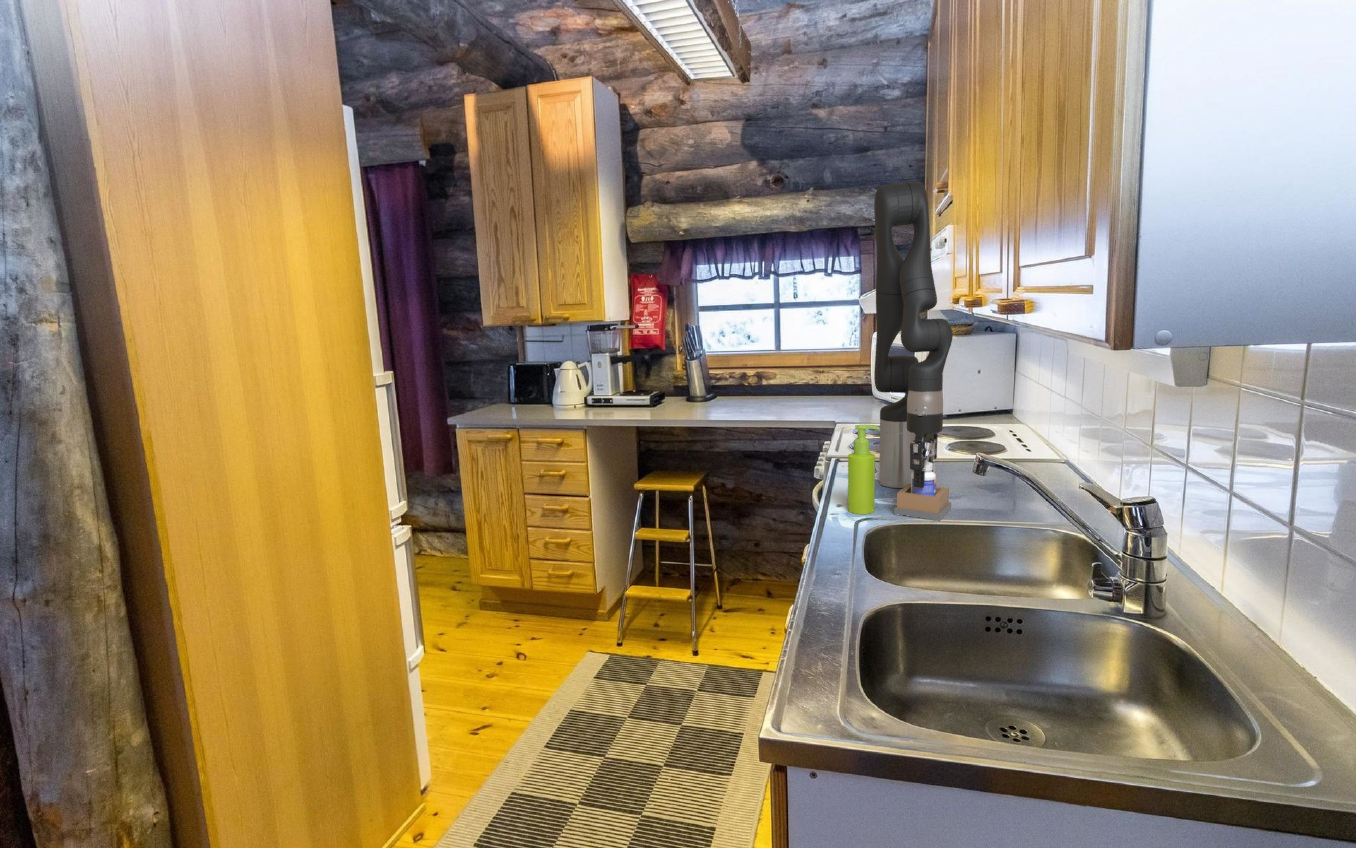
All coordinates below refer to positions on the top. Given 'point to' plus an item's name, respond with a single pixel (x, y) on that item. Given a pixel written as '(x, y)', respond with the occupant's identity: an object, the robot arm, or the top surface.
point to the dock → (923, 503)
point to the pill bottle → (926, 481)
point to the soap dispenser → (861, 474)
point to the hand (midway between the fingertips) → (923, 483)
